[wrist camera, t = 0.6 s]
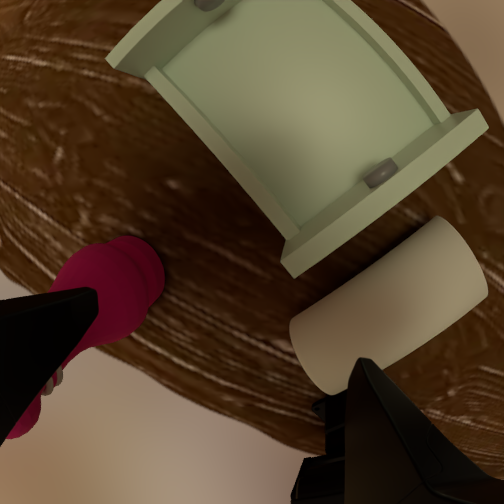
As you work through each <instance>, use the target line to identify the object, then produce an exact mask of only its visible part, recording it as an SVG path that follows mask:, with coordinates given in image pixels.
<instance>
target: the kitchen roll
mask: <svg viewBox="0 0 504 504" xmlns="http://www.w3.org/2000/svg"><path fill="white" fill-rule="evenodd" d="M487 295H488V287H487V283H486V280H485V277H484V274H483V272H482V269H481V267H480V265H479V263H478V261H477V259H476V258H475V256H474V254H473V253H472V251H471V249H470V248H469V246H468V245H467V243H466V242H465V241H464V239H463V238H462V237H461V235H460V234H459V233H458V232H457V231H456V230H455V228H454V227H453V226H452V225H451V224H450V223H448V222H447V221H446V220H445V219H443V218H442V217H440V216H435V217H434V218H433V219H431V220H430V221H429V222H428V223H426V224H425V225H424V226H423V227H421V228H420V229H419V230H418V231H416V232H415V233H414V234H412V235H411V236H410V237H408V238H407V239H406V240H405V241H403V242H402V243H401V244H399V245H398V246H397V247H395V248H394V249H393V250H391V251H390V252H389V253H387V254H386V255H384V256H383V257H382V258H380V259H379V260H378V261H376V262H375V263H373V264H372V265H371V266H369V267H368V268H366V269H365V270H364V271H362V272H361V273H359V274H358V275H356V276H355V277H354V278H352V279H351V280H349V281H348V282H346V283H345V284H343V285H342V286H341V287H339V288H338V289H336V290H335V291H333V292H332V293H330V294H329V295H327V296H326V297H324V298H323V299H321V300H320V301H318V302H317V303H315V304H313V305H312V306H310V307H309V308H307V309H306V310H304V311H303V312H301V313H299V314H298V315H296V316H295V317H293V318H292V319H291V321H290V325H289V330H290V337H291V341H292V345H293V348H294V350H295V353H296V355H297V357H298V359H299V361H300V363H301V365H302V367H303V369H304V370H305V372H306V373H307V375H308V376H309V378H310V379H311V380H312V381H313V382H314V384H315V385H316V386H317V387H318V388H319V389H321V390H322V391H323V392H325V393H327V394H329V395H335V394H337V393H339V392H341V391H343V390H345V389H347V387H348V380H349V376H350V374H351V372H352V370H353V367H354V365H355V363H356V361H357V359H358V358H359V357H364V358H370V359H372V360H373V361H374V362H375V363H376V364H377V365H378V366H379V367H380V369H381V370H382V369H384V368H386V367H388V366H389V365H391V364H393V363H394V362H396V361H398V360H399V359H401V358H403V357H404V356H406V355H407V354H409V353H411V352H412V351H414V350H415V349H417V348H418V347H420V346H421V345H423V344H424V343H426V342H427V341H429V340H430V339H432V338H433V337H435V336H436V335H438V334H439V333H440V332H442V331H443V330H445V329H446V328H447V327H449V326H450V325H451V324H453V323H454V322H455V321H457V320H458V319H459V318H461V317H462V316H463V315H465V314H466V313H467V312H469V311H470V310H471V309H472V308H474V307H475V306H476V305H477V304H478V303H480V302H481V301H482V300H483V299H484V298H486V297H487Z"/></svg>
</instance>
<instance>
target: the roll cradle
mask: <svg viewBox="0 0 504 504" xmlns="http://www.w3.org/2000/svg"><path fill="white" fill-rule="evenodd" d="M105 59H106V60H107V61H108V63H109V64H110V65H111V66H112V67H113V68H114V69H117V70H120V71H123V72H126V73H129V74H131V75H134V76H137V77H140V78H143V79H146V80H148V81H149V82H150V84H151V85H152V86H153V87H154V88H155V89H156V90H157V91H158V92H159V93H160V94H161V95H162V97H163V98H164V99H165V100H166V101H167V102H168V103H169V104H170V105H171V106H172V107H173V109H174V110H175V111H176V112H177V113H178V114H179V115H180V116H181V117H182V119H183V120H184V121H185V122H186V123H187V124H188V125H189V126H190V128H191V129H192V130H193V131H194V132H195V133H196V134H197V135H198V137H199V138H200V139H201V140H202V141H203V142H204V143H205V144H206V146H207V147H208V148H209V149H210V150H211V151H212V152H213V154H214V155H215V156H216V157H217V158H218V159H219V160H220V162H221V163H222V164H223V165H224V166H225V167H226V169H227V170H228V171H229V172H230V173H231V174H232V176H233V177H234V178H235V179H236V180H237V181H238V183H239V184H240V185H241V186H242V187H243V188H244V190H245V191H246V192H247V193H248V194H249V196H250V197H251V198H252V199H253V200H254V202H255V203H256V204H257V205H258V206H259V207H260V209H261V210H262V211H263V212H264V213H265V215H266V216H267V217H268V218H269V219H270V221H271V222H272V223H273V224H274V226H275V227H276V228H277V229H278V230H279V232H280V233H281V234H282V235H283V236H284V238H285V239H286V241H285V245H284V248H283V252H282V256H281V260H280V262H281V263H282V265H283V266H284V267H285V268H286V269H287V271H288V272H289V273H290V274H291V276H292V277H293V278H294V279H295V278H296V277H297V276H299V275H300V274H302V273H303V272H305V271H306V270H307V269H309V268H310V267H312V266H313V265H315V264H316V263H317V262H319V261H320V260H322V259H323V258H324V257H326V256H327V255H329V254H330V253H331V252H333V251H334V250H335V249H337V248H338V247H340V246H341V245H342V244H344V243H345V242H346V241H348V240H349V239H350V238H352V237H353V236H355V235H356V234H357V233H359V232H360V231H361V230H363V229H364V228H365V227H367V226H368V225H369V224H371V223H372V222H373V221H375V220H376V219H377V218H379V217H380V216H381V215H383V214H384V213H385V212H386V211H388V210H389V209H390V208H392V207H393V206H394V205H396V204H397V203H398V202H399V201H401V200H402V199H403V198H405V197H406V196H407V195H408V194H410V193H411V192H412V191H414V190H415V189H416V188H417V187H419V186H420V185H421V184H422V183H424V182H425V181H426V180H427V179H429V178H430V177H431V176H432V175H434V174H435V173H436V172H437V171H438V170H440V169H441V168H442V167H443V166H445V165H446V164H447V163H448V162H449V161H451V160H452V159H453V158H454V157H455V156H457V155H458V154H459V153H460V152H461V151H463V150H464V149H465V148H466V147H467V146H469V145H470V144H471V143H472V142H473V141H474V140H476V139H477V138H478V137H479V136H480V135H481V134H483V133H484V132H485V131H486V130H487V129H488V128H489V127H488V125H487V123H486V122H485V120H484V118H483V116H482V115H481V113H480V111H479V110H478V109H474V110H469V111H464V112H460V113H455V114H451V115H450V113H449V112H448V110H447V109H446V107H445V106H444V105H443V103H442V102H441V100H440V99H439V97H438V96H437V95H436V93H435V92H434V90H433V89H432V88H431V86H430V85H429V84H428V82H427V81H426V80H425V78H424V77H423V76H422V75H421V73H420V72H419V71H418V70H417V68H416V67H415V66H414V65H413V64H412V62H411V61H410V60H409V59H408V58H407V56H406V55H405V54H404V53H403V52H402V51H401V50H400V48H399V47H398V46H397V45H396V44H395V43H394V42H393V41H392V40H391V39H390V38H389V36H388V35H387V34H386V33H385V32H384V31H383V30H382V29H381V28H380V27H379V26H378V25H377V24H376V23H375V22H374V21H373V20H372V19H371V18H370V17H369V16H367V15H366V14H365V13H364V12H363V11H362V10H361V9H360V8H359V7H358V6H357V5H355V4H354V3H353V2H352V1H351V0H162V1H161V2H159V3H158V4H157V5H156V6H155V7H154V8H153V9H152V10H151V11H150V12H149V13H148V14H146V15H145V16H144V17H143V18H142V19H141V20H140V21H139V22H138V23H137V24H136V25H135V26H134V27H133V28H132V29H131V30H130V31H129V32H128V34H127V35H126V36H125V37H124V38H123V39H122V40H121V41H120V42H119V43H118V44H117V45H116V47H115V48H114V49H113V50H112V51H111V52H110V53H109V55H108V56H107V57H106V58H105Z"/></svg>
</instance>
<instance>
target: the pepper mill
mask: <svg viewBox="0 0 504 504" xmlns="http://www.w3.org/2000/svg"><path fill="white" fill-rule="evenodd" d="M164 283H165V274H164V268H163V265H162V263H161V260H160V258H159V257H158V255H157V253H156V252H155V250H154V249H153V248H152V247H151V246H150V245H149V244H147V243H146V242H145V241H143V240H141V239H139V238H137V237H134V236H128V235H127V236H120V237H118V238H115V239H113V240H111V241H110V242H108V243H106V244H102V243H96V244H91V245H88V246H85V247H84V248H82V249H81V250H79V251H78V252H76V253H75V254H73V255H72V256H71V257H70V258H69V259H68V261H67V262H66V263H65V264H64V266H63V267H62V268H61V270H60V272H59V273H58V275H57V277H56V279H55V281H54V283H53V284H52V286H51V288H50V290H49V291H48V293H49V292H55V291H61V290H68V289H74V288H80V287H90V288H93V289H95V290H96V291H97V293H98V304H99V313H98V316H97V317H96V319H95V320H94V322H93V323H92V324H91V326H90V327H89V329H88V330H87V332H86V333H85V335H84V336H83V338H82V339H81V341H80V342H79V343H78V345H77V346H76V347H75V349H74V350H73V351H72V352H71V353H70V355H69V356H68V357H67V358H66V359H65V361H64V362H63V363H62V364H61V366H60V367H59V368H58V369H57V371H56V372H55V373H54V374H53V376H52V377H51V378H50V379H49V381H48V382H47V383H46V384H45V386H44V387H43V388H42V390H41V391H40V392H39V393H38V395H37V396H36V397H35V399H34V400H33V401H32V403H31V404H30V405H29V407H28V408H27V409H26V411H25V412H24V413H23V415H22V416H21V418H20V419H19V420H18V422H17V423H16V425H15V426H14V428H13V429H12V430H11V432H10V433H9V435H8V436H7V438H6V439H13V438H18V437H20V436H22V435H24V434H25V433H27V432H28V431H29V430H30V429H31V428H32V427H33V426H34V425H35V424H36V422H37V421H38V418H39V415H40V411H41V395H44V396H46V395H49V394H51V393H52V391H53V388H54V387H55V386H58V385H59V384H61V382H62V379H63V371H62V370H63V369H64V368H65V366H66V365H67V364H68V362H70V361H71V360H72V359H73V358H74V357H75V356H76V355H78V354H79V353H80V352H82V351H83V350H86V349H88V348H90V347H94V346H98V345H102V344H107V343H112V342H115V341H118V340H120V339H122V338H124V337H126V336H128V335H130V334H131V333H132V332H133V331H134V330H136V329H137V328H138V327H139V326H140V325H141V324H142V322H143V321H144V319H145V317H146V314H147V311H148V307H149V306H151V305H152V304H153V303H154V302H155V301H156V300H157V299H158V297H159V296H160V295H161V293H162V291H163V289H164Z"/></svg>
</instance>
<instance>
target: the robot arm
mask: <svg viewBox="0 0 504 504" xmlns="http://www.w3.org/2000/svg"><path fill="white" fill-rule="evenodd" d="M98 313H99V304H98V293H97V291H96V290H95V289H93V288H90V287H80V288H74V289H68V290H61V291H55V292H49V293H43V294H36V295H30V296H24V297H17V298H11V299H6V300H0V446H1V445H2V443H3V442H4V441H5V439H6V438H7V436H8V435H9V433H10V432H11V430H12V429H13V428H14V426H15V425H16V423H17V422H18V420H19V419H20V418H21V416H22V415H23V413H24V412H25V411H26V409H27V408H28V407H29V405H30V404H31V403H32V401H33V400H34V399H35V397H36V396H37V395H38V393H39V392H40V391H41V390H42V388H43V387H44V386H45V384H46V383H47V382H48V381H49V379H50V378H51V377H52V376H53V374H54V373H55V372H56V371H57V369H58V368H59V367H60V366H61V364H62V363H63V362H64V361H65V359H66V358H67V357H68V356H69V355H70V353H71V352H72V351H73V350H74V349H75V347H76V346H77V345H78V343H79V342H80V341H81V339H82V338H83V336H84V335H85V333H86V332H87V330H88V329H89V327H90V326H91V324H92V323H93V322H94V320H95V319H96V317H97V316H98ZM316 407H318V408H316ZM312 411H313V412H314V413H315V414H316V415H318V416H319V417H320V418H321V419H322V420H323V421H324V422H325V452H326V455H322V456H317V457H312V458H311V457H308V458H304V460H303V463H302V465H301V468H300V471H299V474H298V477H297V479H296V482H295V485H294V487H293V490H292V492H291V504H504V480H500V479H496V478H494V477H491V476H489V475H488V474H486V473H485V472H484V471H483V470H481V469H480V468H479V467H478V466H477V465H476V464H475V463H473V462H472V461H471V460H470V459H469V458H468V457H467V456H465V455H464V454H463V453H462V452H461V451H460V450H459V449H458V448H457V447H455V446H454V445H453V444H452V443H451V442H450V441H449V440H448V439H447V438H446V437H445V436H444V435H443V434H442V433H441V432H440V431H439V430H438V429H437V428H436V427H435V425H434V424H432V423H431V421H430V420H429V419H428V418H427V417H426V416H425V415H424V414H423V413H422V412H421V411H420V410H419V409H418V407H417V406H416V405H415V404H414V403H413V402H412V401H411V400H410V399H409V398H408V397H407V396H406V395H405V394H404V393H403V392H402V391H401V390H400V388H399V387H398V386H397V385H396V384H395V383H394V382H393V381H392V380H391V379H390V378H389V377H388V376H387V375H386V374H385V373H384V372H383V371H382V370H381V369H380V367H379V366H378V365H377V364H376V363H375V362H374V361H373V360H372V359H370V358H364V357H359V358H358V359H357V361H356V363H355V365H354V367H353V370H352V372H351V374H350V376H349V380H348V387H347V389H345V390H343V391H341V392H339V393H337V394H335V395H331V396H329V397H327V398H325V399H323V400H321V401H318V402H316V403H314V404H313V405H312Z"/></svg>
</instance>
